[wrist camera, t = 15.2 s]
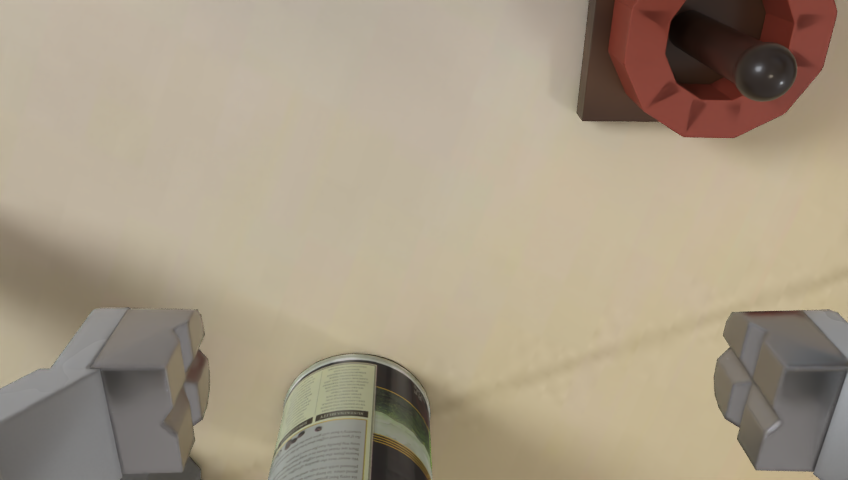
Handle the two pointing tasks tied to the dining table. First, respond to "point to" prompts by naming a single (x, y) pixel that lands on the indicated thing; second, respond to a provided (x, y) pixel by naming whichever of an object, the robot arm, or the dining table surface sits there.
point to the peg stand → (688, 56)
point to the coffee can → (354, 423)
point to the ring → (721, 100)
